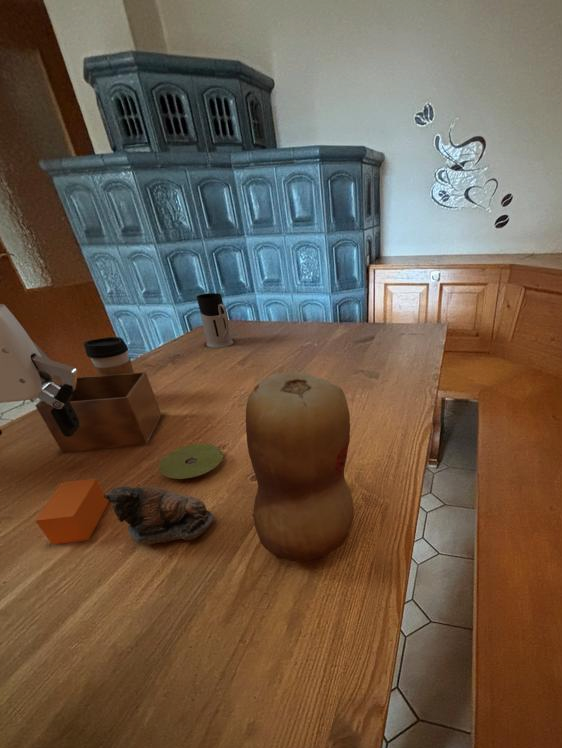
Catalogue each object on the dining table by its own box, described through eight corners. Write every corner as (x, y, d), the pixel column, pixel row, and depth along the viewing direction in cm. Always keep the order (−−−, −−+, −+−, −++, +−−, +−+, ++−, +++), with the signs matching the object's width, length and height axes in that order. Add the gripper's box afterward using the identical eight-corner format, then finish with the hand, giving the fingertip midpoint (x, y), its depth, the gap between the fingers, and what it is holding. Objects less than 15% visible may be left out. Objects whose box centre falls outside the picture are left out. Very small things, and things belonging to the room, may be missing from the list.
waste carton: (62, 453, 77) (34, 405, 70) (87, 422, 87) (65, 377, 80) (147, 445, 79) (127, 397, 72) (161, 415, 89) (145, 372, 82)
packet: (52, 545, 57) (34, 520, 54) (77, 505, 64) (62, 482, 61) (89, 540, 57) (73, 516, 54) (109, 502, 64) (96, 478, 61)
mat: (227, 449, 77) (225, 440, 76) (221, 482, 68) (219, 474, 67) (169, 455, 76) (166, 446, 74) (155, 490, 67) (151, 481, 66)
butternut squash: (343, 587, 50) (333, 416, 35) (247, 573, 52) (197, 406, 37) (361, 515, 61) (360, 361, 46) (281, 506, 63) (254, 356, 48)
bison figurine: (215, 512, 62) (198, 461, 56) (216, 543, 57) (197, 490, 50) (134, 529, 59) (107, 477, 53) (127, 563, 54) (96, 510, 48)
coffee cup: (102, 403, 94) (74, 342, 85) (135, 391, 100) (111, 332, 91) (120, 412, 90) (93, 348, 81) (153, 399, 96) (131, 338, 87)
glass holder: (226, 338, 135) (215, 291, 125) (246, 347, 126) (236, 298, 117) (202, 343, 130) (189, 295, 121) (221, 354, 122) (209, 303, 112)
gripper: (-180, 310, 37) (-58, 458, 47) (17, 299, 39) (92, 443, 49) (-117, 294, 43) (-21, 429, 53) (51, 285, 45) (112, 416, 55)
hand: (33, 435), depth 51 cm, fingers open, 9 cm apart
